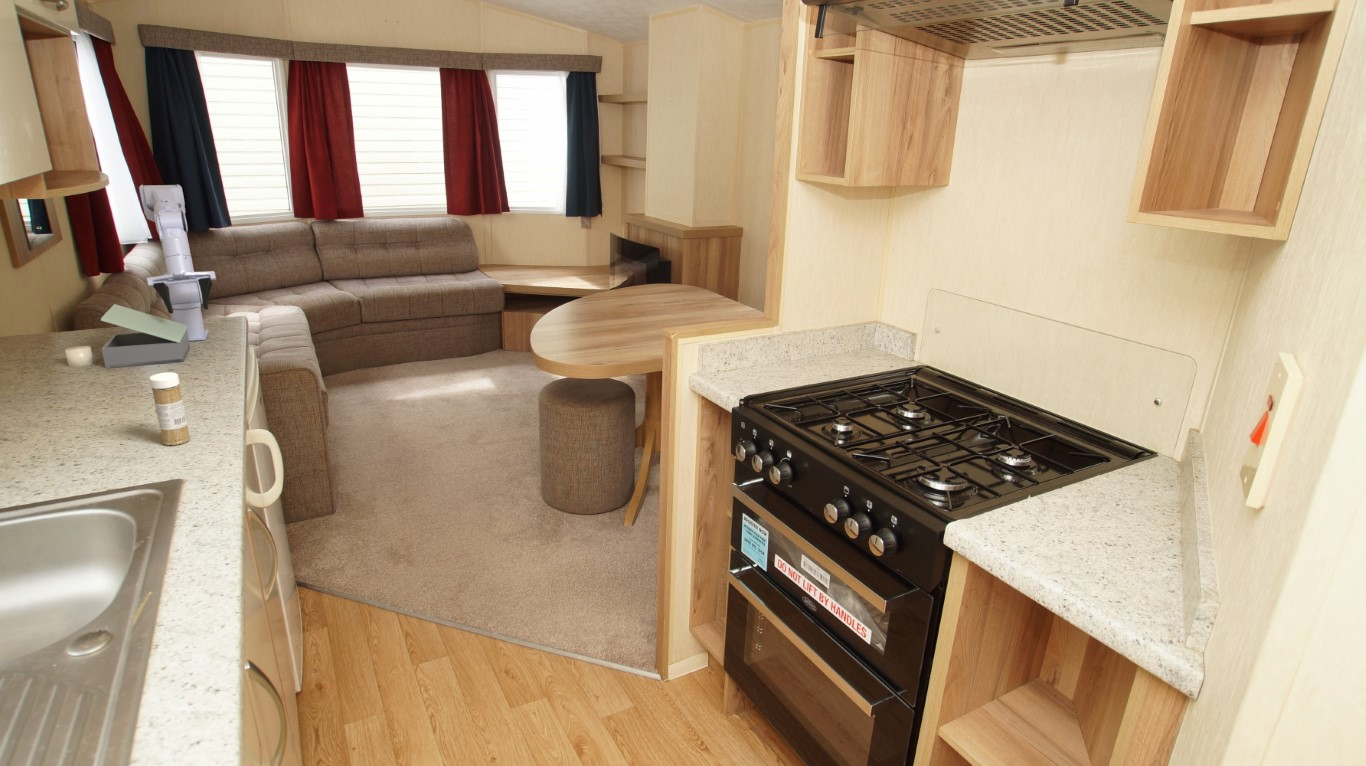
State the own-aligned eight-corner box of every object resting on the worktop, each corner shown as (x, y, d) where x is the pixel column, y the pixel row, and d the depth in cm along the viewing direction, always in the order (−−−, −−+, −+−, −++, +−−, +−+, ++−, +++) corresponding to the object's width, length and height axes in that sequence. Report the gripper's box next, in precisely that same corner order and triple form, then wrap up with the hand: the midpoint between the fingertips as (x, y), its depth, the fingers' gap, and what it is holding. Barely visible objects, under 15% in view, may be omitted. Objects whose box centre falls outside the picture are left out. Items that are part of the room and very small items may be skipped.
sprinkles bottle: (184, 435, 147) (171, 369, 143) (195, 441, 145) (182, 375, 140) (158, 442, 143) (144, 375, 139) (168, 448, 141) (154, 380, 137)
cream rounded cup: (71, 362, 186) (67, 346, 185) (96, 360, 188) (92, 345, 187) (66, 368, 182) (62, 352, 181) (91, 366, 184) (87, 350, 183)
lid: (113, 306, 191) (114, 304, 191) (187, 328, 200) (188, 325, 200) (100, 320, 179) (101, 317, 179) (179, 342, 187) (180, 339, 187)
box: (117, 352, 194) (113, 334, 193) (190, 347, 201) (186, 329, 200) (105, 368, 183) (101, 348, 181) (183, 361, 189) (179, 342, 188)
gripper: (140, 257, 184) (151, 312, 184) (208, 251, 190) (218, 304, 190) (147, 263, 191) (157, 316, 191) (212, 257, 197) (223, 308, 197)
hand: (188, 310), depth 191 cm, fingers open, 7 cm apart
